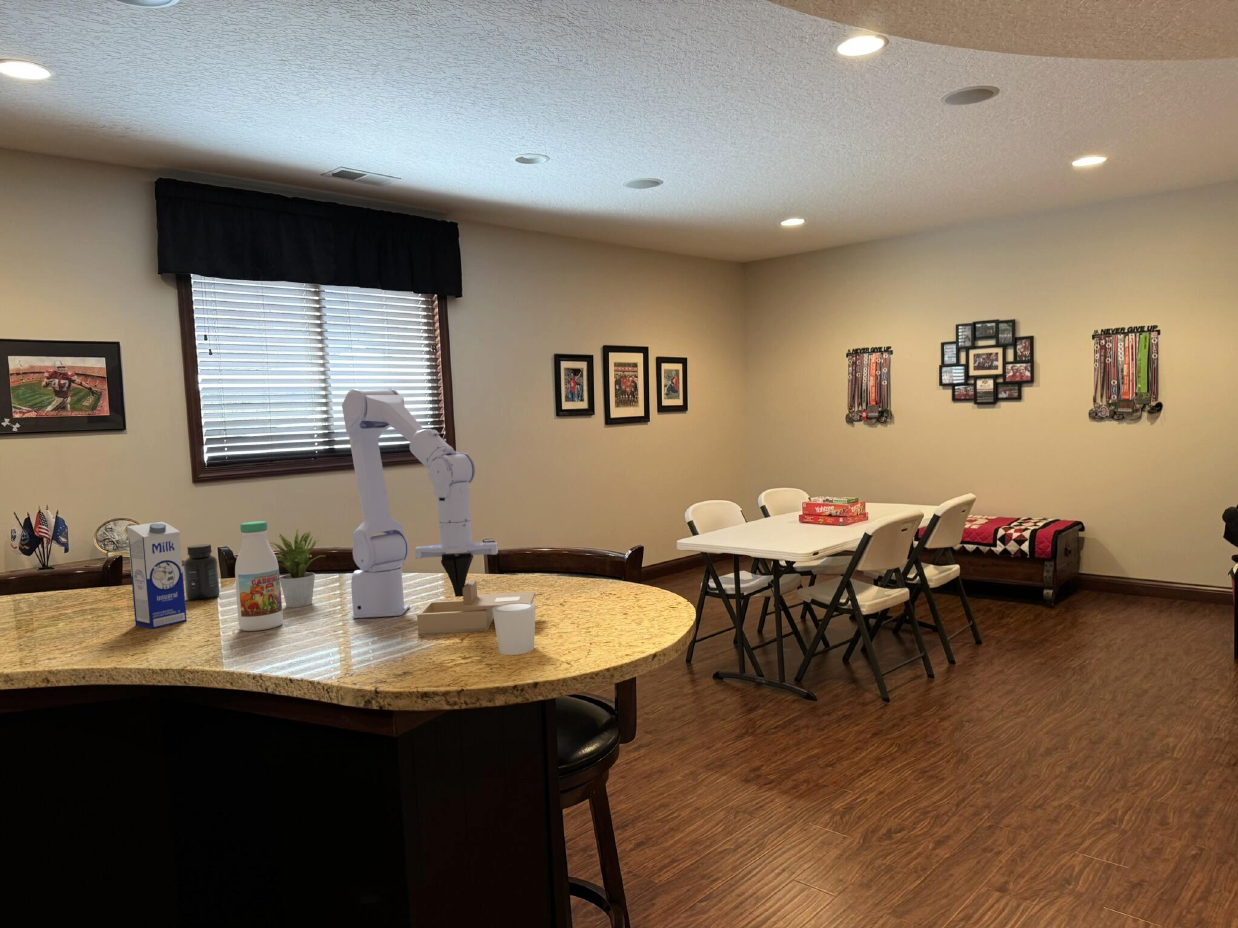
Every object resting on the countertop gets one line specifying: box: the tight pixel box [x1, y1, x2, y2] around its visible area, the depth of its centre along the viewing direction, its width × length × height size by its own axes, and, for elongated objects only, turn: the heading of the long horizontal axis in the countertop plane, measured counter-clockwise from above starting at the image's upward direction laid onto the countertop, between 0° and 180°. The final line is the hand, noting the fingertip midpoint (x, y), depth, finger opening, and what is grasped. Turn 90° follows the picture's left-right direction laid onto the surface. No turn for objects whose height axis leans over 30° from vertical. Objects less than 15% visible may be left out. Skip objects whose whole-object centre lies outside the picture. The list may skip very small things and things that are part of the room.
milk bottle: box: [234, 520, 284, 632], centre depth 158 cm, size 8×8×20 cm
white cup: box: [493, 603, 536, 656], centre depth 133 cm, size 7×7×7 cm
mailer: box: [416, 599, 494, 636], centre depth 151 cm, size 12×10×4 cm
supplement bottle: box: [183, 543, 220, 602], centre depth 189 cm, size 7×7×12 cm
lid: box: [462, 579, 536, 610], centre depth 151 cm, size 12×10×4 cm
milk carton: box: [126, 521, 188, 630], centre depth 165 cm, size 7×7×20 cm
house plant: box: [268, 529, 328, 608], centre depth 178 cm, size 14×14×16 cm
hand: (459, 595), depth 151 cm, fingers closed
